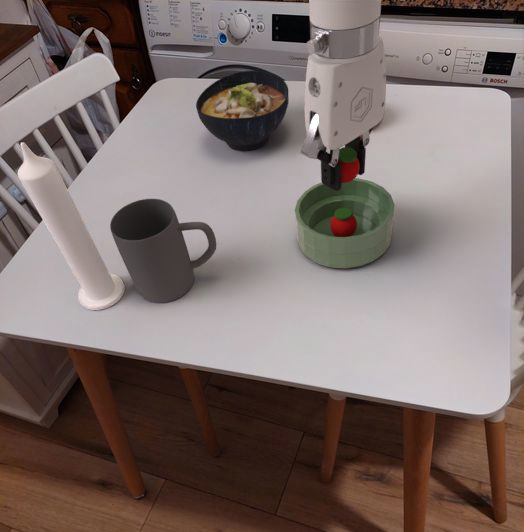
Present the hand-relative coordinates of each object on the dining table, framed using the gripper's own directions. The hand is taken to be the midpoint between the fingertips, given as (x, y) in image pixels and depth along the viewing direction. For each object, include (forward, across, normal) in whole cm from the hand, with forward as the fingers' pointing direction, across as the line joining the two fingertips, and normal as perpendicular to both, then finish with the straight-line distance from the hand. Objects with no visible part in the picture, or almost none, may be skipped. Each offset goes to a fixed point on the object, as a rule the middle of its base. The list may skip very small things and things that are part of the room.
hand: (342, 177), depth 71 cm
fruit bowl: (+11, 0, 0) cm, 11 cm away
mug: (+11, -23, +12) cm, 28 cm away
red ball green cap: (+10, 0, 0) cm, 10 cm away
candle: (+11, -33, +19) cm, 39 cm away
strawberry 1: (0, 0, 0) cm, 0 cm away
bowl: (+11, +9, +34) cm, 37 cm away
